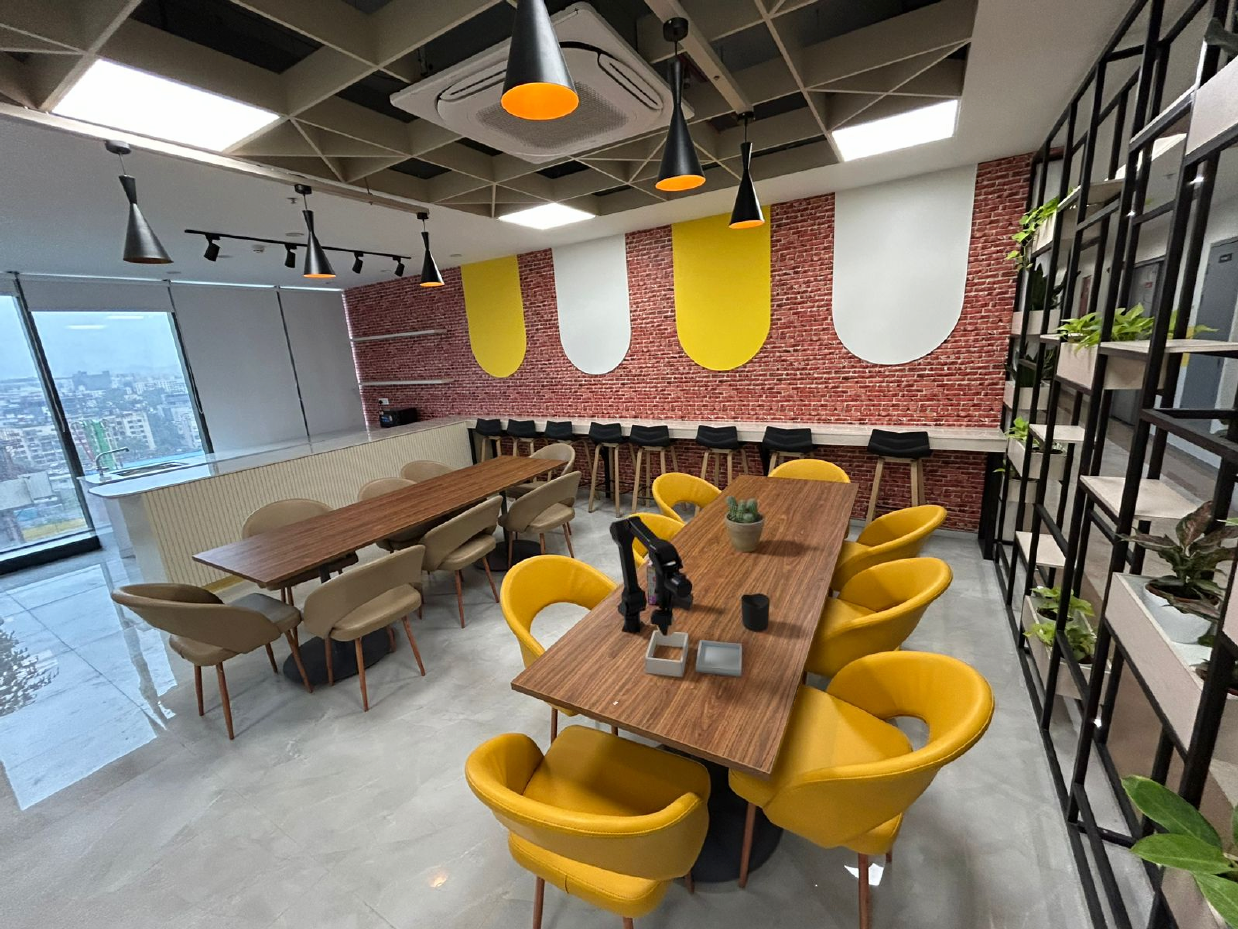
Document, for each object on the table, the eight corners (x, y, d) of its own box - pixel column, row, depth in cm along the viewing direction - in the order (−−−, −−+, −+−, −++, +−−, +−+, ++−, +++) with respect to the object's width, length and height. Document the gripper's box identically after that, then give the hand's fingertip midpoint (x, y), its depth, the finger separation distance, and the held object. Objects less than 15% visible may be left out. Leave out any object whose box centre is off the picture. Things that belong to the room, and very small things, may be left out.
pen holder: (748, 615, 179) (748, 589, 177) (773, 623, 173) (774, 597, 171) (736, 627, 172) (736, 601, 170) (762, 635, 166) (762, 609, 164)
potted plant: (761, 539, 243) (761, 491, 237) (768, 555, 226) (769, 503, 220) (723, 540, 245) (722, 492, 239) (727, 556, 228) (727, 504, 222)
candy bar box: (647, 605, 190) (645, 565, 186) (650, 598, 194) (648, 560, 191) (676, 607, 187) (675, 567, 183) (678, 601, 191) (677, 561, 187)
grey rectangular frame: (654, 643, 166) (653, 630, 164) (688, 646, 163) (688, 633, 162) (645, 673, 151) (644, 658, 150) (682, 677, 148) (682, 662, 147)
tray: (699, 645, 163) (699, 640, 162) (741, 649, 159) (741, 643, 159) (695, 672, 150) (695, 665, 150) (741, 677, 147) (741, 670, 146)
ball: (659, 628, 158) (658, 611, 157) (677, 629, 157) (677, 612, 155) (655, 638, 153) (655, 621, 151) (675, 640, 151) (674, 623, 150)
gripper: (687, 601, 140) (689, 650, 144) (694, 571, 157) (695, 615, 161) (649, 598, 143) (651, 646, 146) (660, 569, 160) (661, 613, 164)
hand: (666, 629), depth 154 cm, fingers closed on ball, 6 cm apart
